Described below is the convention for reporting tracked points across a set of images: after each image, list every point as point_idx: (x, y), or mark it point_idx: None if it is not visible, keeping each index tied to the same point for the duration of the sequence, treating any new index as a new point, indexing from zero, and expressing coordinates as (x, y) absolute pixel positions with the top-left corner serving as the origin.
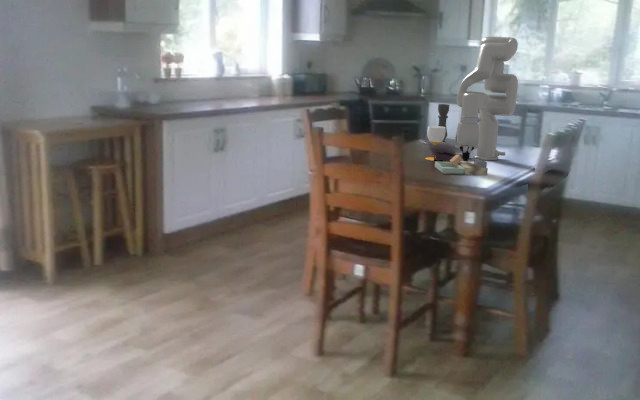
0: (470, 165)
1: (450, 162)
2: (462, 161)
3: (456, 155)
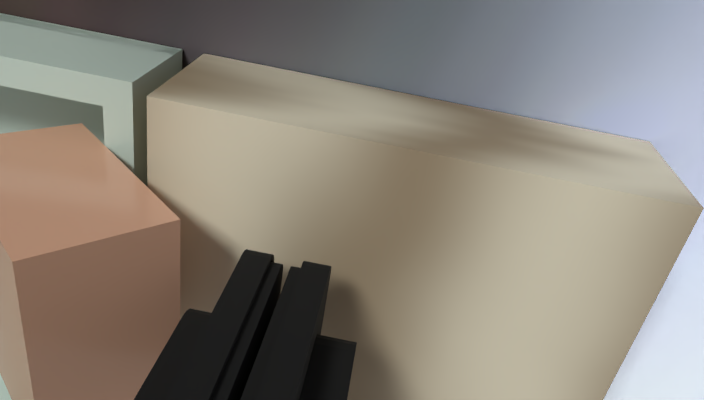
0: None
1: (15, 83)
2: (290, 146)
3: (7, 297)
